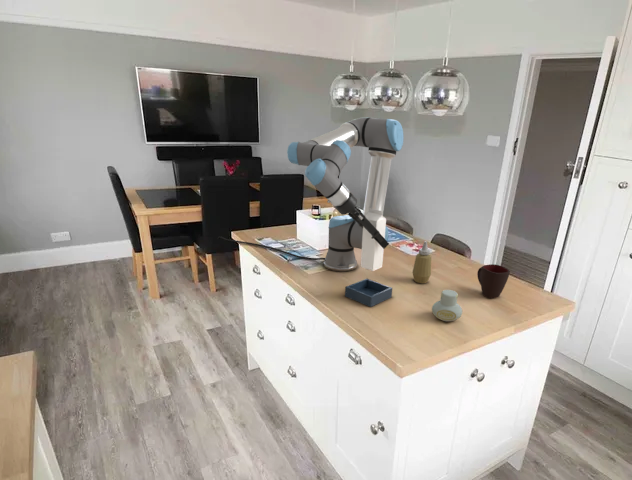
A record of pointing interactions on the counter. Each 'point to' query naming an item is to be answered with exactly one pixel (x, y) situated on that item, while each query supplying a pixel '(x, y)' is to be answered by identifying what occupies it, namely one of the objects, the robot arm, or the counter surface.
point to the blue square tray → (368, 292)
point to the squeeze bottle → (422, 265)
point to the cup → (492, 279)
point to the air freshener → (447, 306)
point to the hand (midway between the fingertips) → (381, 242)
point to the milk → (373, 242)
